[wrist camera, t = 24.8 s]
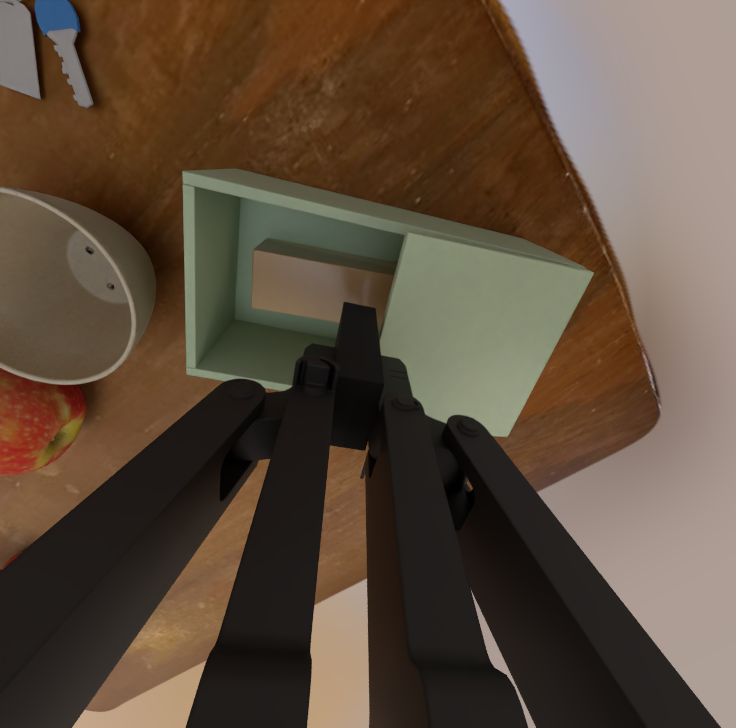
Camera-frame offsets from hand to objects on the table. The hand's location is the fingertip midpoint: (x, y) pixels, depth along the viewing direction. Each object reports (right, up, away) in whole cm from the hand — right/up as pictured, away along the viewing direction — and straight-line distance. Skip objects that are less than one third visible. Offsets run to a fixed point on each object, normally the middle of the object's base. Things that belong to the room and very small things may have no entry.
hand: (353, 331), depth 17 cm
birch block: (+1, +4, +7) cm, 8 cm away
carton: (+1, +4, +8) cm, 9 cm away
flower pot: (-16, +5, +7) cm, 18 cm away
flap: (+6, -1, +1) cm, 6 cm away
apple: (-24, -3, +11) cm, 27 cm away
